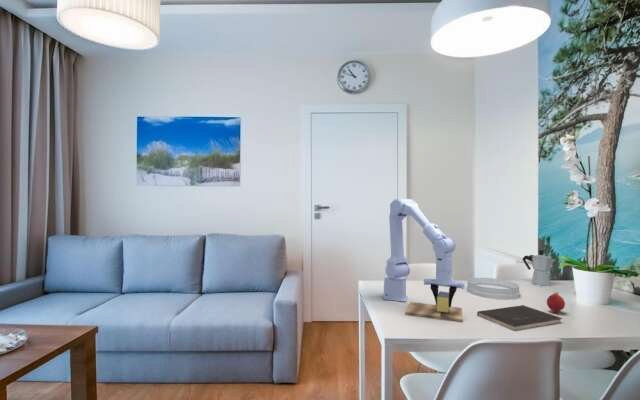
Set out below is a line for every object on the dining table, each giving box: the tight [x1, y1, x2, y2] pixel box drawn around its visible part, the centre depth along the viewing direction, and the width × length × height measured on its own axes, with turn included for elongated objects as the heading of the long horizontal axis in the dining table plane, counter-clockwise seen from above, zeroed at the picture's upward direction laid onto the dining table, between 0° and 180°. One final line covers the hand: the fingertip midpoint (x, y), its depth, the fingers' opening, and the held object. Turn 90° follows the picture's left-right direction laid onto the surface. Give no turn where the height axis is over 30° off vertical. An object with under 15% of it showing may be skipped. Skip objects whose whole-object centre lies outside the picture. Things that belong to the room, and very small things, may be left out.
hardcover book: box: [476, 305, 563, 331], centre depth 125 cm, size 16×23×2 cm
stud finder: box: [437, 290, 450, 313], centre depth 130 cm, size 4×7×6 cm, turn 154°
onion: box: [546, 291, 566, 313], centre depth 132 cm, size 6×6×8 cm
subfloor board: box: [404, 301, 464, 323], centre depth 131 cm, size 20×14×1 cm
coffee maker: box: [522, 249, 556, 287], centre depth 177 cm, size 15×9×18 cm, turn 46°
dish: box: [466, 277, 520, 301], centre depth 160 cm, size 22×22×5 cm
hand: (443, 305), depth 130 cm, fingers closed on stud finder, 4 cm apart
